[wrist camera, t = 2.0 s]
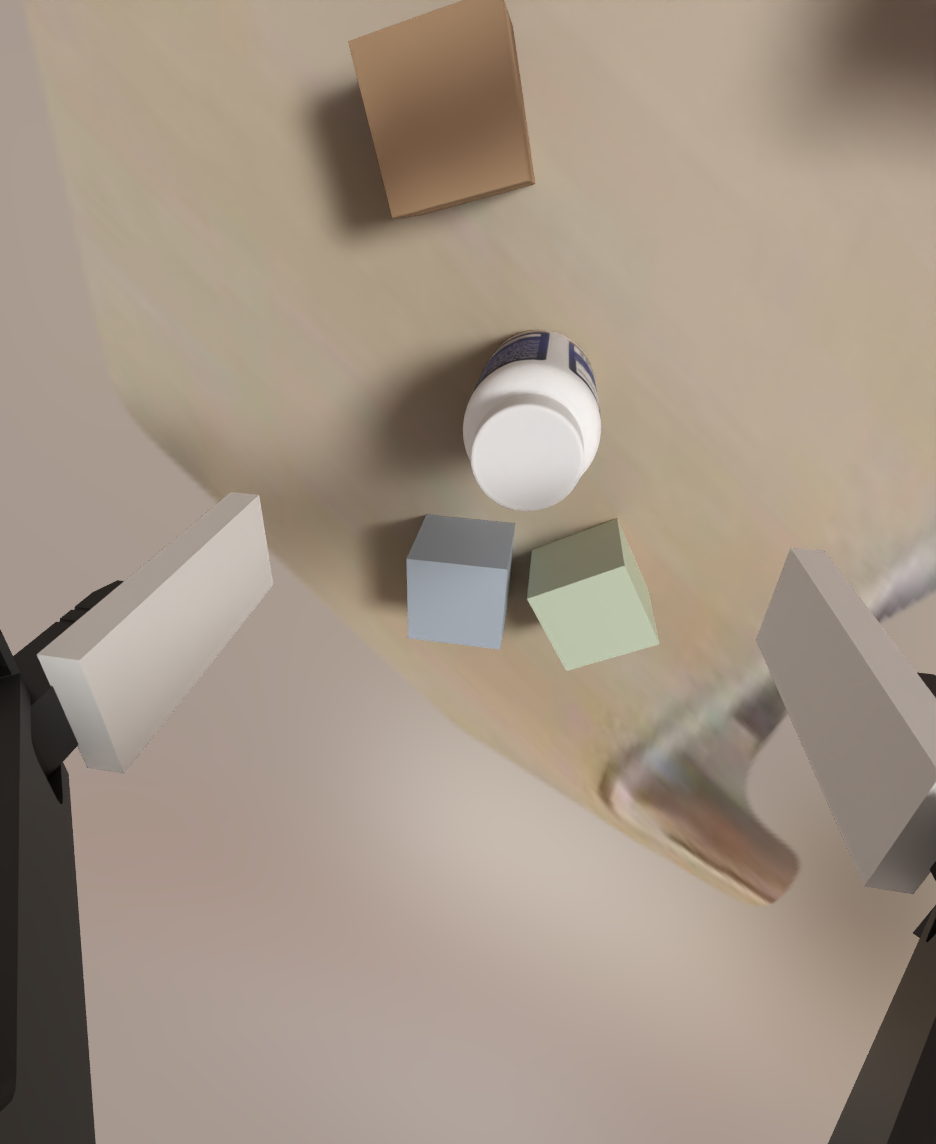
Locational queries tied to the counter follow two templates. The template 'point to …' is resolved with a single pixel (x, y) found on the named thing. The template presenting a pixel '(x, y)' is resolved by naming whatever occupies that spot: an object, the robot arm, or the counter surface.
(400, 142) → the walnut cube
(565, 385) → the pill bottle
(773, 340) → the counter surface
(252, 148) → the counter surface
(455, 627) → the slate blue cube
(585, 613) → the sage cube
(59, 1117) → the robot arm
